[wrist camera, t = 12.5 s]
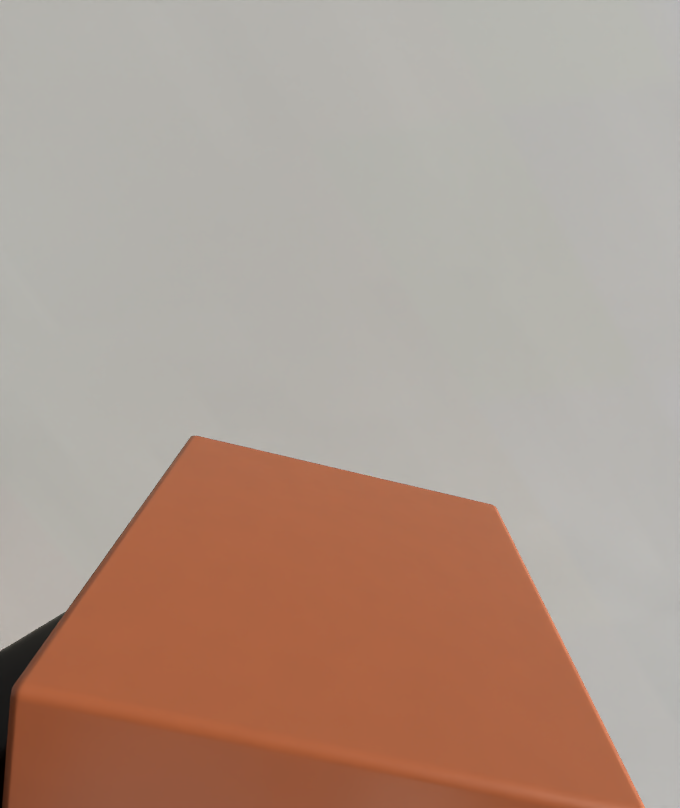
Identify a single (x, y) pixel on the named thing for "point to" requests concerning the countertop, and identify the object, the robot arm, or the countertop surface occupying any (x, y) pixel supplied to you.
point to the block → (306, 657)
